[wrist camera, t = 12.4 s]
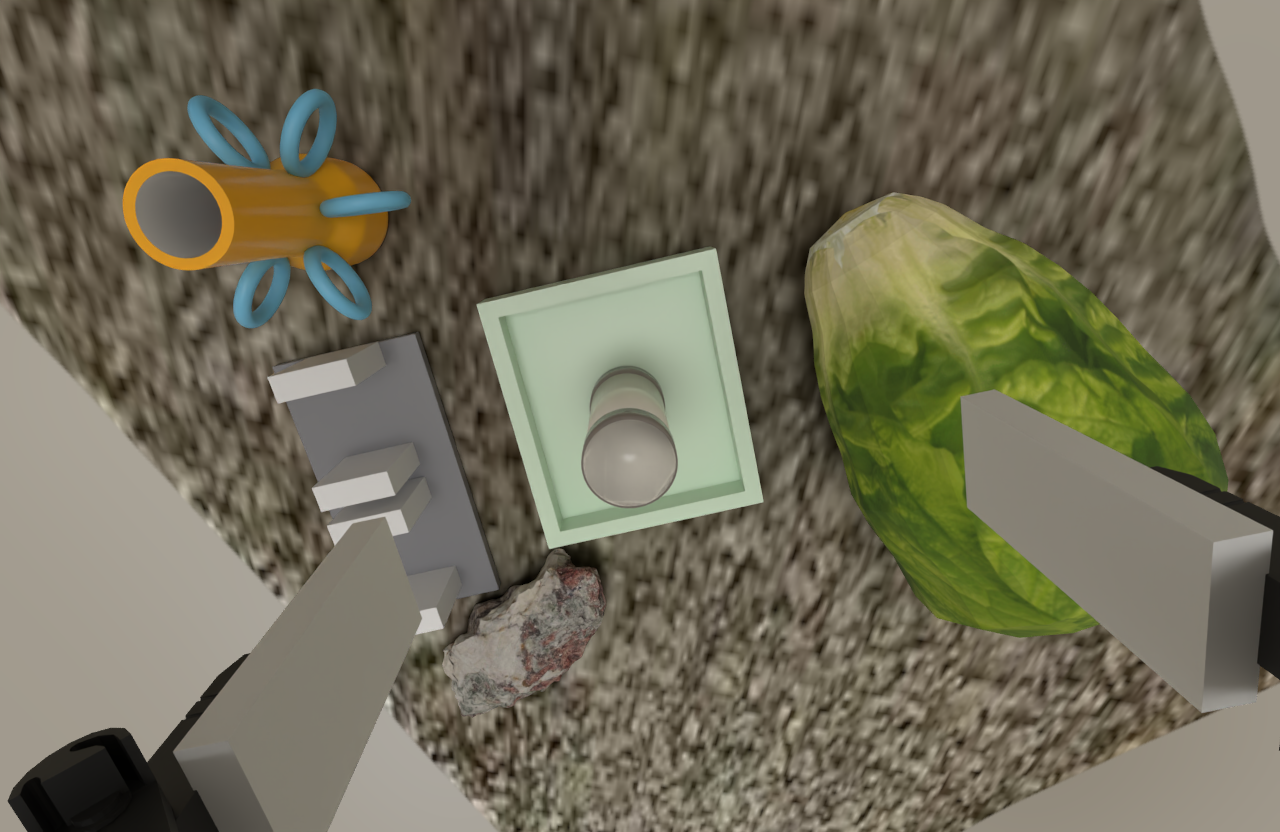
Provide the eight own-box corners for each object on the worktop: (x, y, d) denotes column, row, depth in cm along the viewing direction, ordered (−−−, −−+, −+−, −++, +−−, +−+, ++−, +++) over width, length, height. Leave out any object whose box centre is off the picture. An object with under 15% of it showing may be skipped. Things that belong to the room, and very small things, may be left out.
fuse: (582, 374, 42) (570, 429, 32) (655, 358, 42) (666, 408, 32) (600, 442, 44) (594, 517, 33) (670, 427, 43) (686, 496, 33)
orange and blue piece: (391, 344, 42) (272, 414, 28) (222, 273, 40) (4, 308, 26) (460, 152, 39) (367, 118, 25) (280, 67, 37) (69, -22, 23)
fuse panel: (278, 363, 42) (226, 386, 37) (418, 330, 42) (387, 349, 36) (375, 610, 47) (343, 664, 42) (500, 583, 47) (484, 633, 41)
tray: (484, 299, 41) (476, 304, 39) (710, 246, 41) (715, 248, 38) (552, 531, 46) (548, 549, 44) (756, 486, 45) (763, 502, 43)
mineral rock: (483, 712, 50) (471, 758, 46) (412, 637, 48) (393, 678, 44) (647, 608, 48) (650, 646, 44) (580, 525, 46) (576, 557, 42)
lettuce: (822, 227, 47) (1062, 63, 33) (999, 503, 49) (1296, 457, 35) (666, 335, 38) (907, 172, 24) (891, 669, 40) (1233, 694, 26)
